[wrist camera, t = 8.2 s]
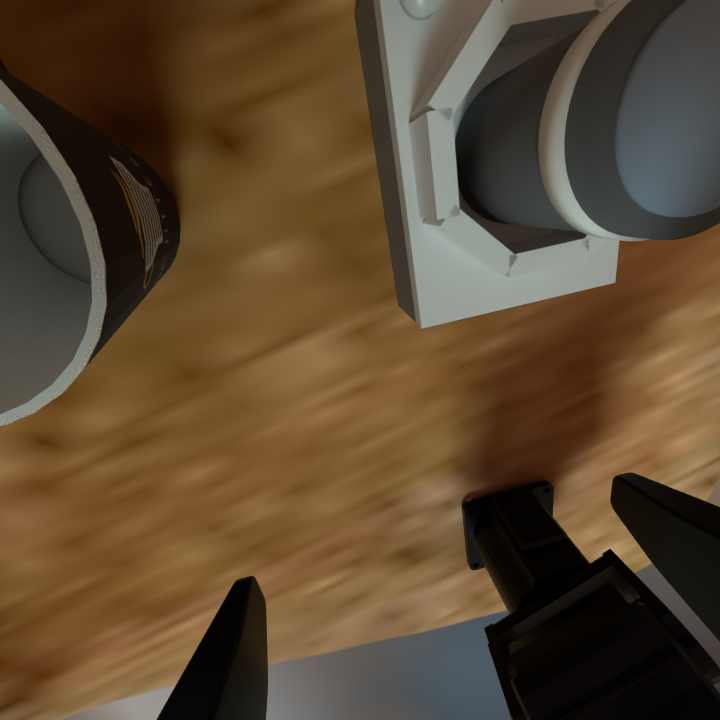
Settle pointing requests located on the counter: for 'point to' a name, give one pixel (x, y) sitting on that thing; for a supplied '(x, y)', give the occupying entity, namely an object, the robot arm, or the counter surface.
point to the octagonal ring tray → (438, 157)
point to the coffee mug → (69, 244)
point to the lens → (604, 128)
